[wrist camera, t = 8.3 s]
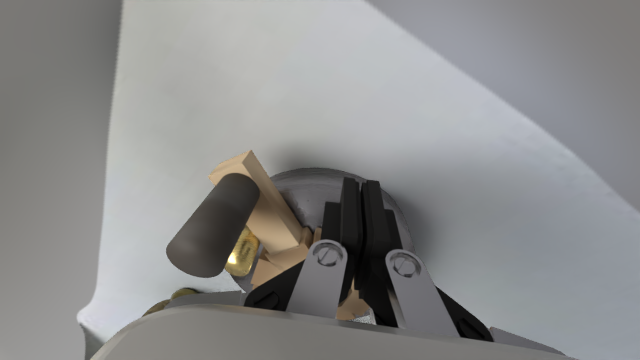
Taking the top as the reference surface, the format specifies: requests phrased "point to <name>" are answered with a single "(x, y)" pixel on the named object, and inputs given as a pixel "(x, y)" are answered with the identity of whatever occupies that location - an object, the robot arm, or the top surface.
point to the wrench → (262, 219)
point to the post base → (303, 215)
